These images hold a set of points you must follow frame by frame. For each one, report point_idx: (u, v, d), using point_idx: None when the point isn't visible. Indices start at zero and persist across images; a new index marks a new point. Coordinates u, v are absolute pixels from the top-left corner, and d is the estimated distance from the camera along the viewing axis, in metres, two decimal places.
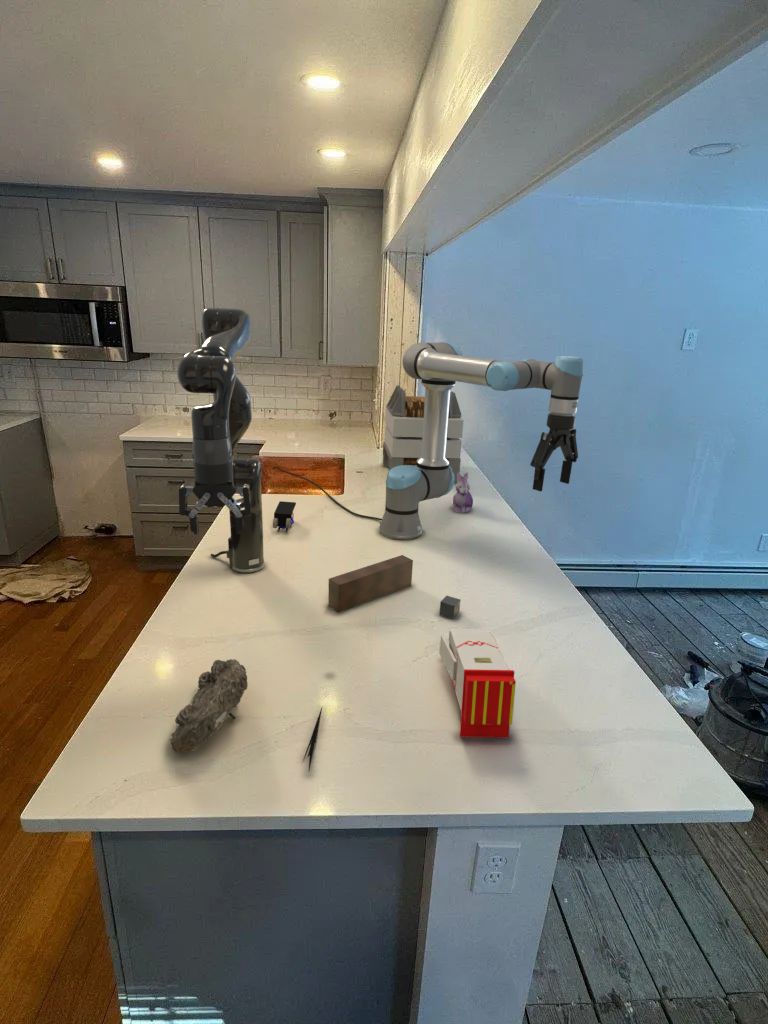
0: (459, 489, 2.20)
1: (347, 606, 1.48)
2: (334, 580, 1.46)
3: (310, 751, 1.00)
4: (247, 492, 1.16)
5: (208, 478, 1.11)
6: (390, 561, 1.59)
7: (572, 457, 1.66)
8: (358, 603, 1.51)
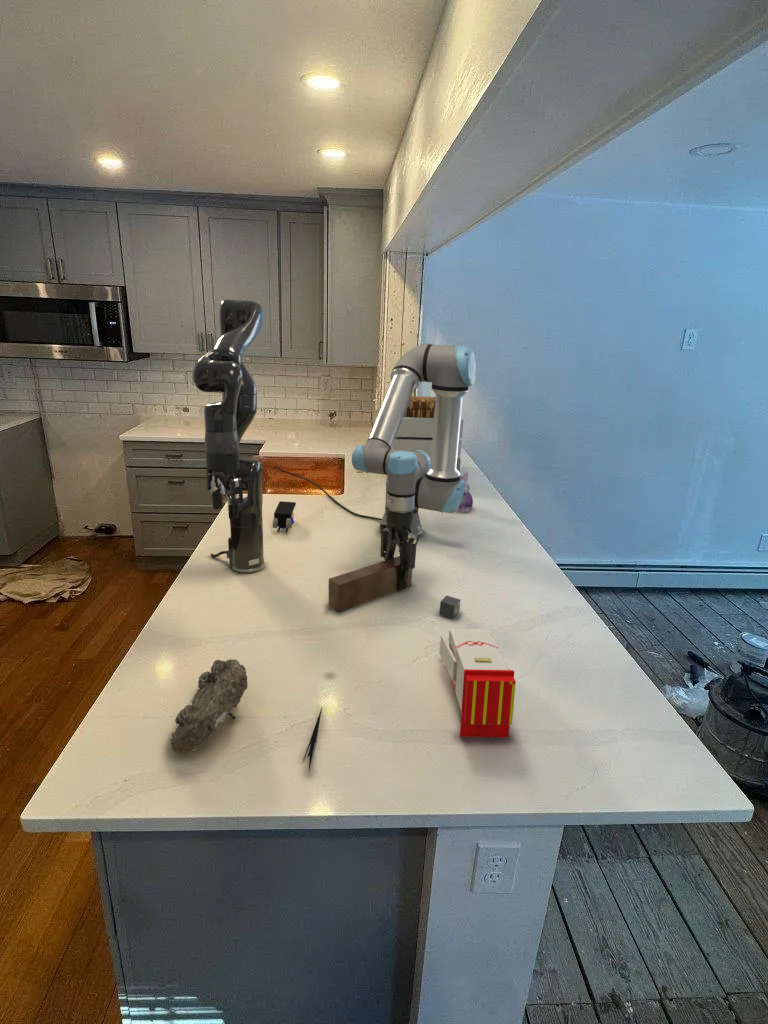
0: None
1: (347, 606, 1.48)
2: (334, 580, 1.46)
3: (310, 751, 1.00)
4: None
5: None
6: (390, 561, 1.59)
7: (402, 564, 1.56)
8: (358, 603, 1.51)
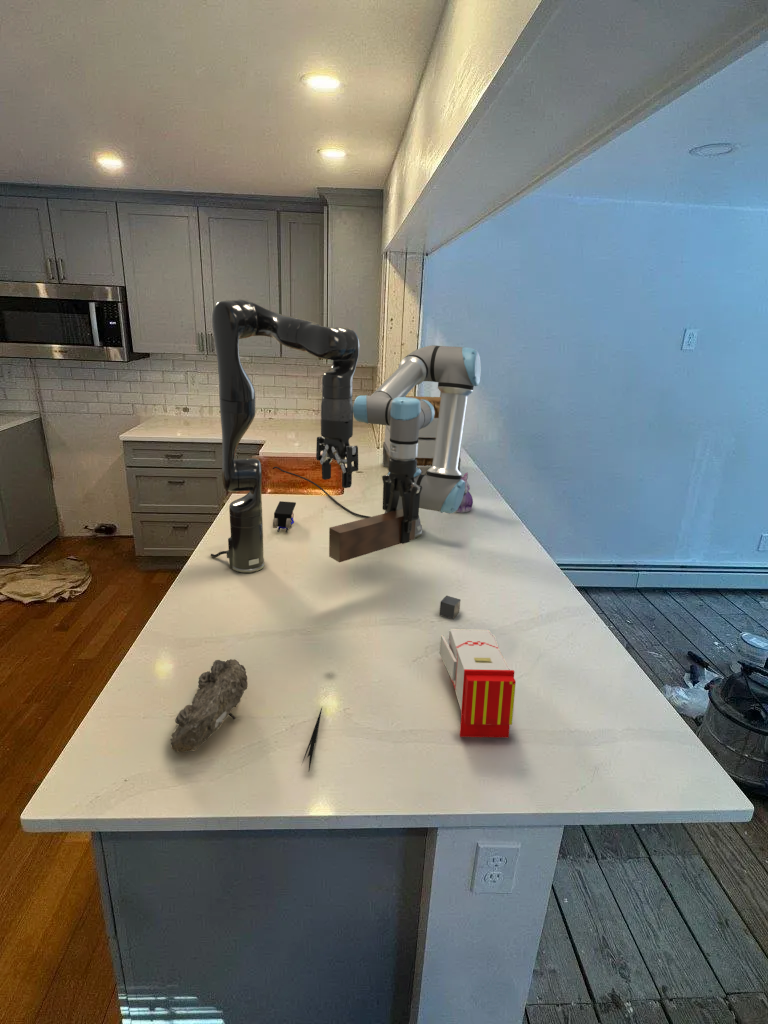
0: None
1: (349, 556, 1.44)
2: (335, 529, 1.42)
3: (310, 751, 1.00)
4: None
5: None
6: (393, 513, 1.54)
7: (405, 515, 1.51)
8: (359, 554, 1.46)
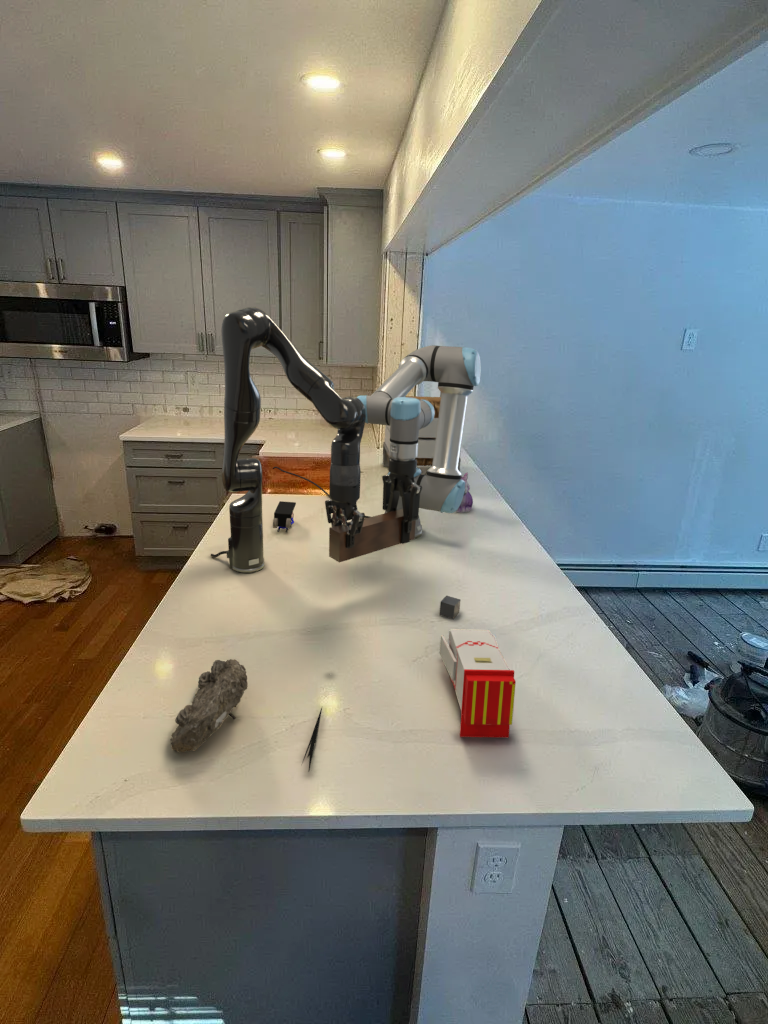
0: None
1: (349, 556, 1.44)
2: (335, 529, 1.42)
3: (310, 751, 1.00)
4: None
5: None
6: (393, 513, 1.54)
7: (405, 515, 1.51)
8: (359, 554, 1.46)
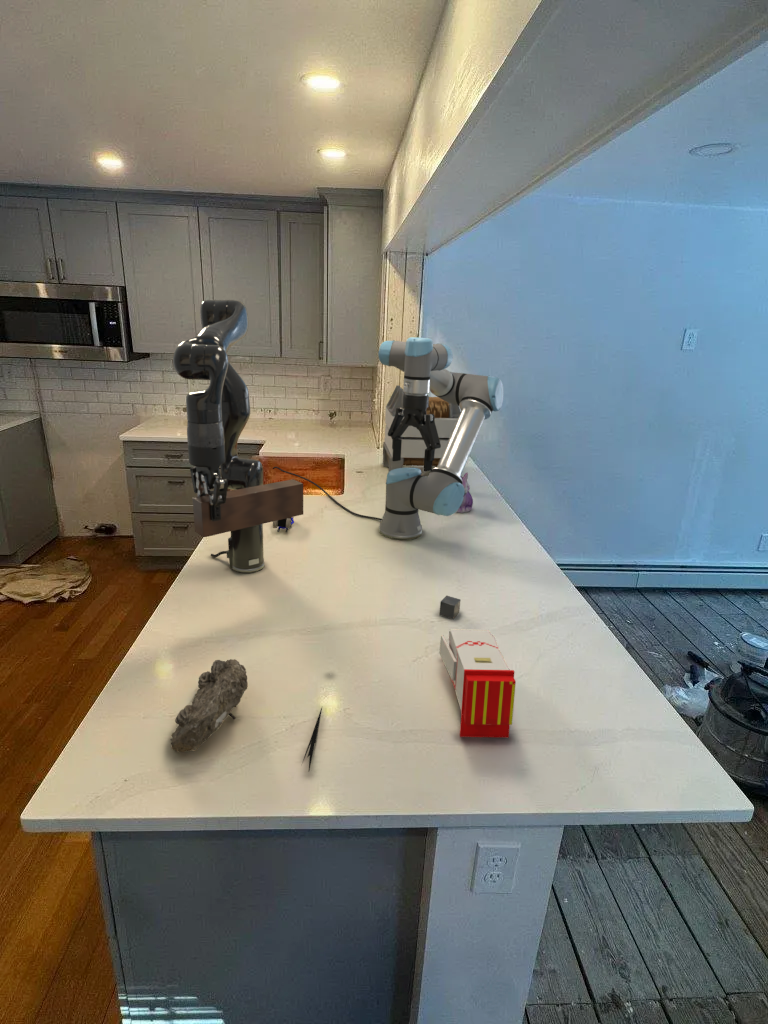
0: None
1: (216, 531, 1.26)
2: (197, 499, 1.24)
3: (310, 751, 1.00)
4: None
5: None
6: (276, 484, 1.36)
7: (427, 444, 1.61)
8: (231, 528, 1.28)
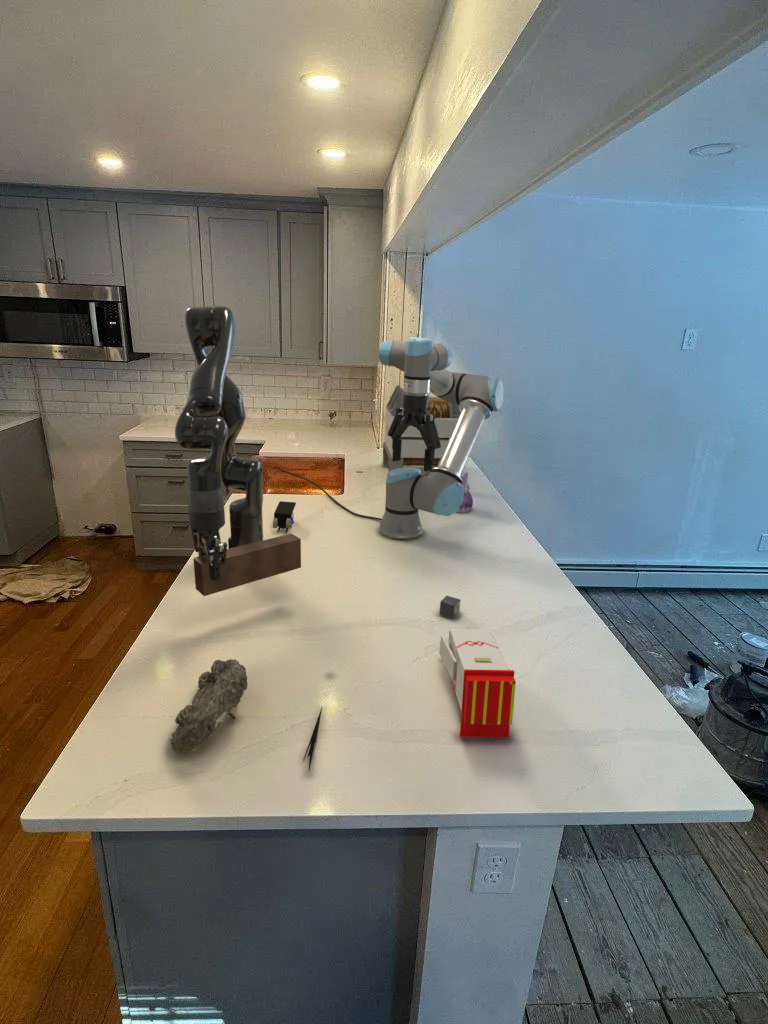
0: None
1: (216, 589, 1.30)
2: (198, 559, 1.28)
3: (310, 751, 1.00)
4: None
5: None
6: (274, 539, 1.41)
7: (427, 444, 1.61)
8: (230, 586, 1.33)
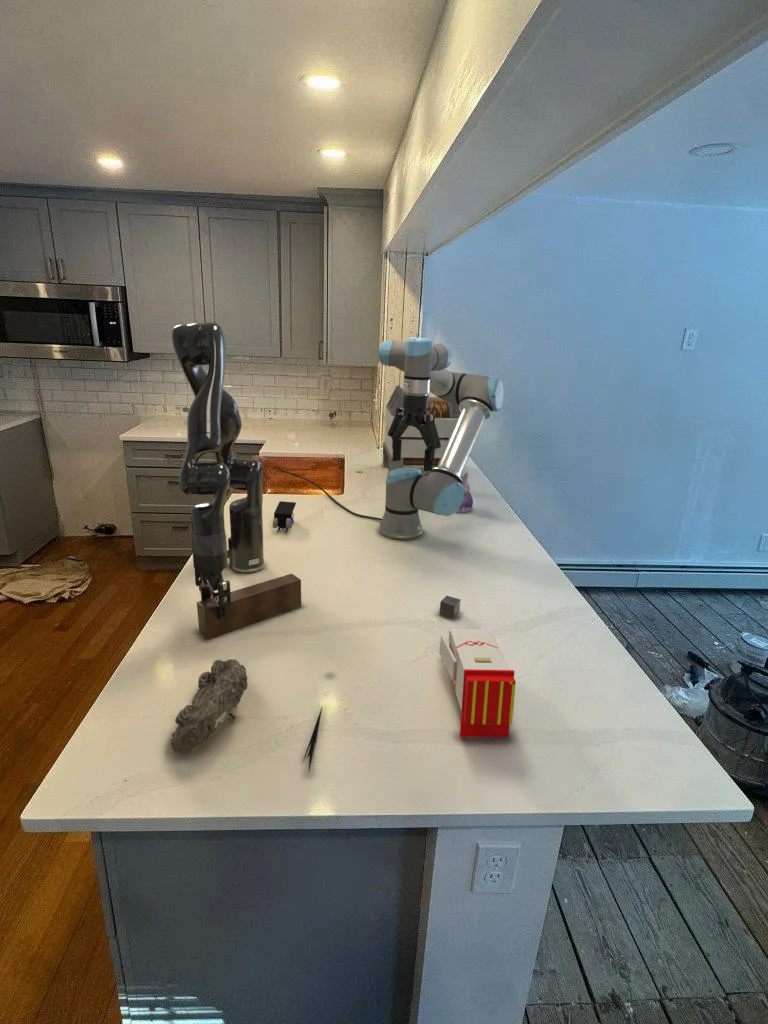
0: None
1: (219, 632, 1.34)
2: (201, 604, 1.32)
3: (310, 751, 1.00)
4: None
5: None
6: (275, 580, 1.45)
7: (427, 444, 1.61)
8: (232, 628, 1.36)
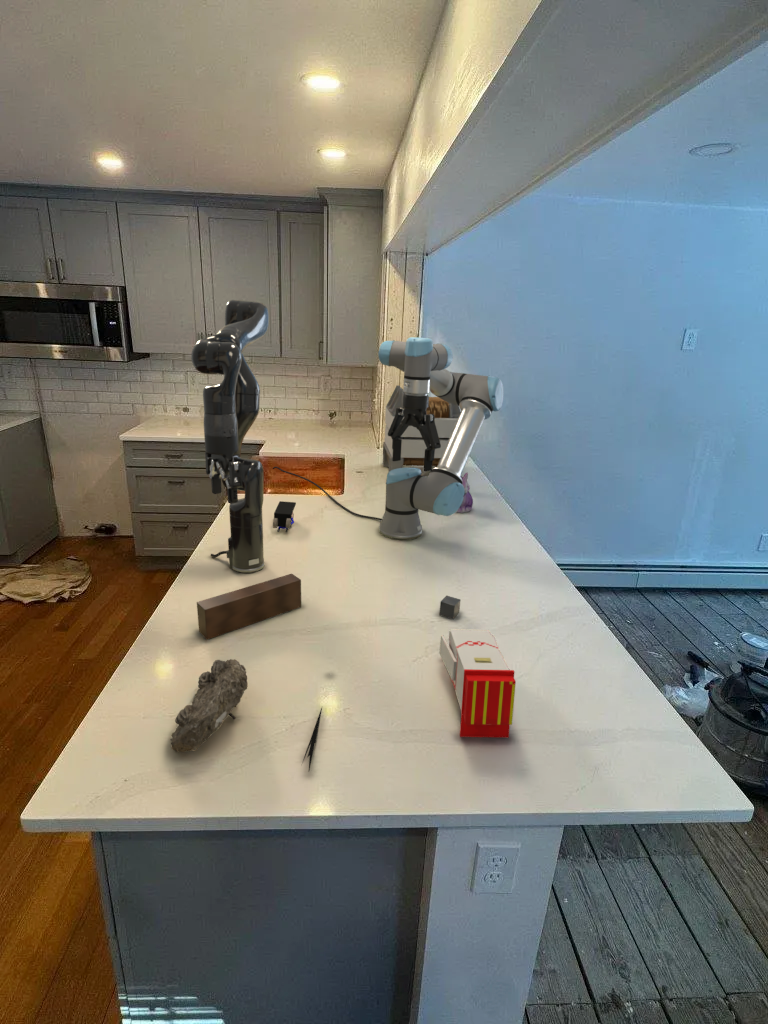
0: None
1: (219, 632, 1.34)
2: (201, 604, 1.32)
3: (310, 751, 1.00)
4: None
5: None
6: (275, 580, 1.45)
7: (427, 444, 1.61)
8: (232, 628, 1.36)
